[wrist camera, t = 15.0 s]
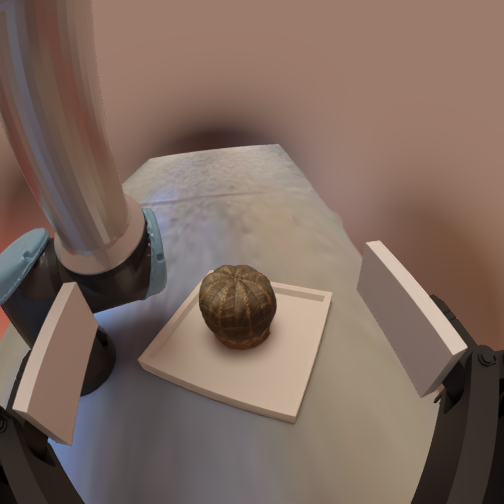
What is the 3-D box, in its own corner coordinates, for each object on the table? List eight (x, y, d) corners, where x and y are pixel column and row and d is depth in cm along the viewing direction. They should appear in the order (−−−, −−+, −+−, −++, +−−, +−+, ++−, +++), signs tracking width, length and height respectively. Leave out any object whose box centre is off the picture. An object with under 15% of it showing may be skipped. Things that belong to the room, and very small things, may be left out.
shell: (196, 353, 40) (177, 294, 34) (221, 305, 49) (211, 247, 42) (266, 368, 37) (263, 308, 31) (282, 315, 46) (282, 254, 39)
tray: (143, 368, 39) (137, 359, 37) (212, 279, 57) (210, 269, 56) (294, 423, 30) (295, 416, 29) (330, 303, 49) (332, 292, 47)
